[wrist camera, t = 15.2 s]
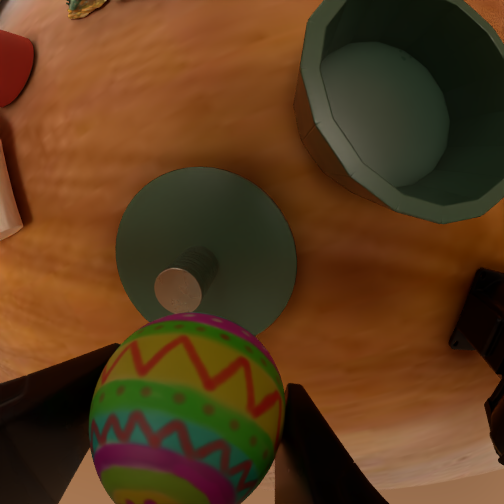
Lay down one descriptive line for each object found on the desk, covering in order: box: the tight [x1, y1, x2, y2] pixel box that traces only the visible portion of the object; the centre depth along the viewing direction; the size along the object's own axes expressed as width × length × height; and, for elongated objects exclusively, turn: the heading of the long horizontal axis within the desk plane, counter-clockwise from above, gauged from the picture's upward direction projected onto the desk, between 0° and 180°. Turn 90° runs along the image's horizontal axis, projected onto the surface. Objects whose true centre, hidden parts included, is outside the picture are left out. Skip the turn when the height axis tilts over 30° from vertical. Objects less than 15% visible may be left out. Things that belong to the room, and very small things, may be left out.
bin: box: [293, 0, 504, 224], centre depth 12 cm, size 10×10×8 cm
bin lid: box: [116, 167, 297, 336], centre depth 16 cm, size 11×11×5 cm
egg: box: [89, 312, 286, 504], centre depth 7 cm, size 5×5×6 cm
